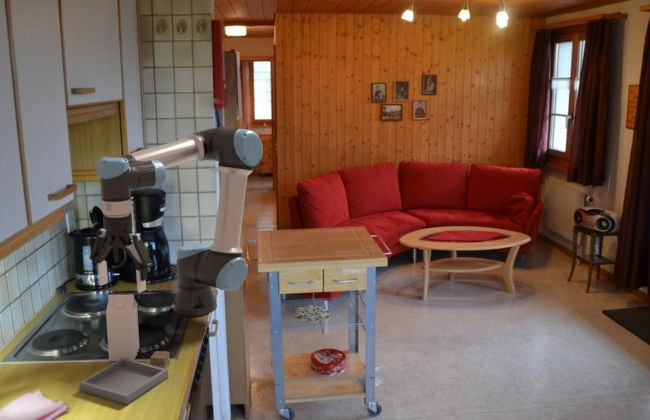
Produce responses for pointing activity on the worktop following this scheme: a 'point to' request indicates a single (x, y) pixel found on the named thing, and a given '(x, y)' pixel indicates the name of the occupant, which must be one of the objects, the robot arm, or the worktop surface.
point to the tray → (123, 381)
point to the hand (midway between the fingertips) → (122, 287)
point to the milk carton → (122, 327)
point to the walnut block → (160, 359)
